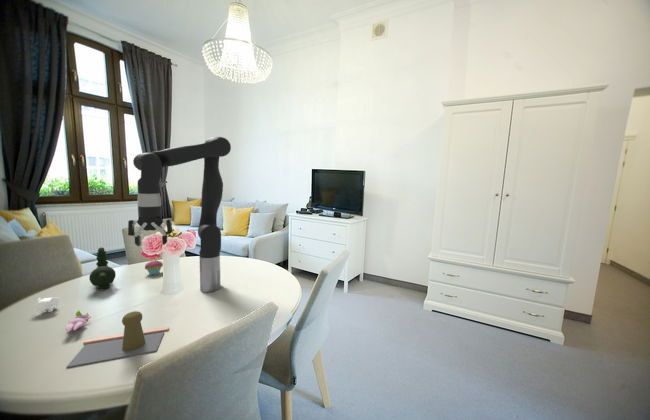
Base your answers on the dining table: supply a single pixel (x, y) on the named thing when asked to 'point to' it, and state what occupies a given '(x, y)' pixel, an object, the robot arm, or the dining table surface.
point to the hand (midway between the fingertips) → (151, 244)
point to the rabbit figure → (77, 321)
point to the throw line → (123, 335)
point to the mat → (113, 350)
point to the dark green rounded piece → (102, 272)
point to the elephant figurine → (47, 304)
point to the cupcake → (154, 267)
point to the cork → (132, 331)
